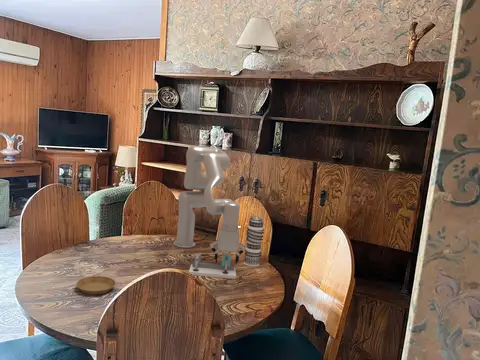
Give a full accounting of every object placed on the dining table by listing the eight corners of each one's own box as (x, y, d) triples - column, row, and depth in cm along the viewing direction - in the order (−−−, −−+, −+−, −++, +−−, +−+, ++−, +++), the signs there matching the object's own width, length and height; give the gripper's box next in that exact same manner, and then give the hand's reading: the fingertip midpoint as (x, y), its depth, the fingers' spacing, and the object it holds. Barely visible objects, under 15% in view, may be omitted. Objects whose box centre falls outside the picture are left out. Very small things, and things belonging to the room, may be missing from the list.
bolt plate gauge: (190, 267, 189) (192, 252, 189) (235, 271, 190) (236, 256, 189) (188, 274, 180) (190, 259, 179) (235, 278, 181) (237, 263, 180)
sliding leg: (221, 266, 189) (222, 253, 189) (229, 267, 190) (231, 253, 189) (221, 271, 182) (222, 258, 181) (229, 272, 182) (231, 258, 181)
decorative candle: (259, 267, 198) (264, 220, 195) (241, 264, 200) (246, 218, 197) (261, 262, 207) (266, 217, 204) (244, 259, 209) (249, 214, 206)
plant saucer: (102, 279, 166) (102, 273, 165) (122, 290, 156) (122, 284, 156) (69, 287, 154) (69, 281, 154) (88, 300, 145) (88, 294, 145)
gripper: (247, 227, 189) (243, 261, 191) (212, 224, 188) (208, 257, 190) (248, 231, 182) (244, 266, 184) (211, 228, 181) (208, 263, 183)
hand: (226, 262), depth 187 cm, fingers open, 9 cm apart
